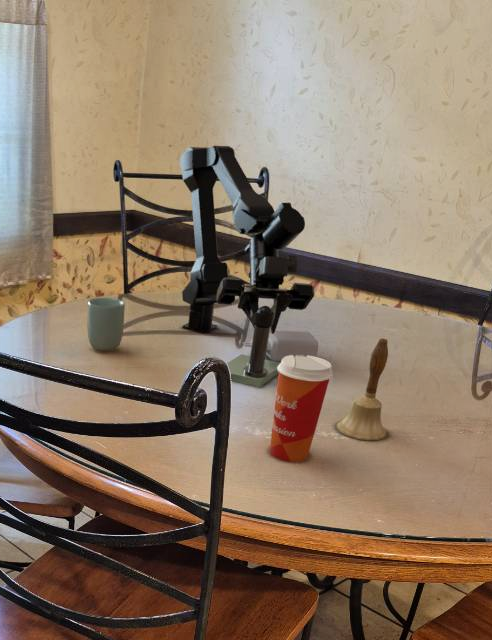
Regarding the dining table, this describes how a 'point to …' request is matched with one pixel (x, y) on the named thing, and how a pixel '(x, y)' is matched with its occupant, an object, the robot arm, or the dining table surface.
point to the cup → (105, 323)
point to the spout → (264, 317)
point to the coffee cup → (298, 405)
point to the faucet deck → (249, 380)
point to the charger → (289, 344)
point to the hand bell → (368, 403)
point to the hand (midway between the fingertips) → (265, 332)
